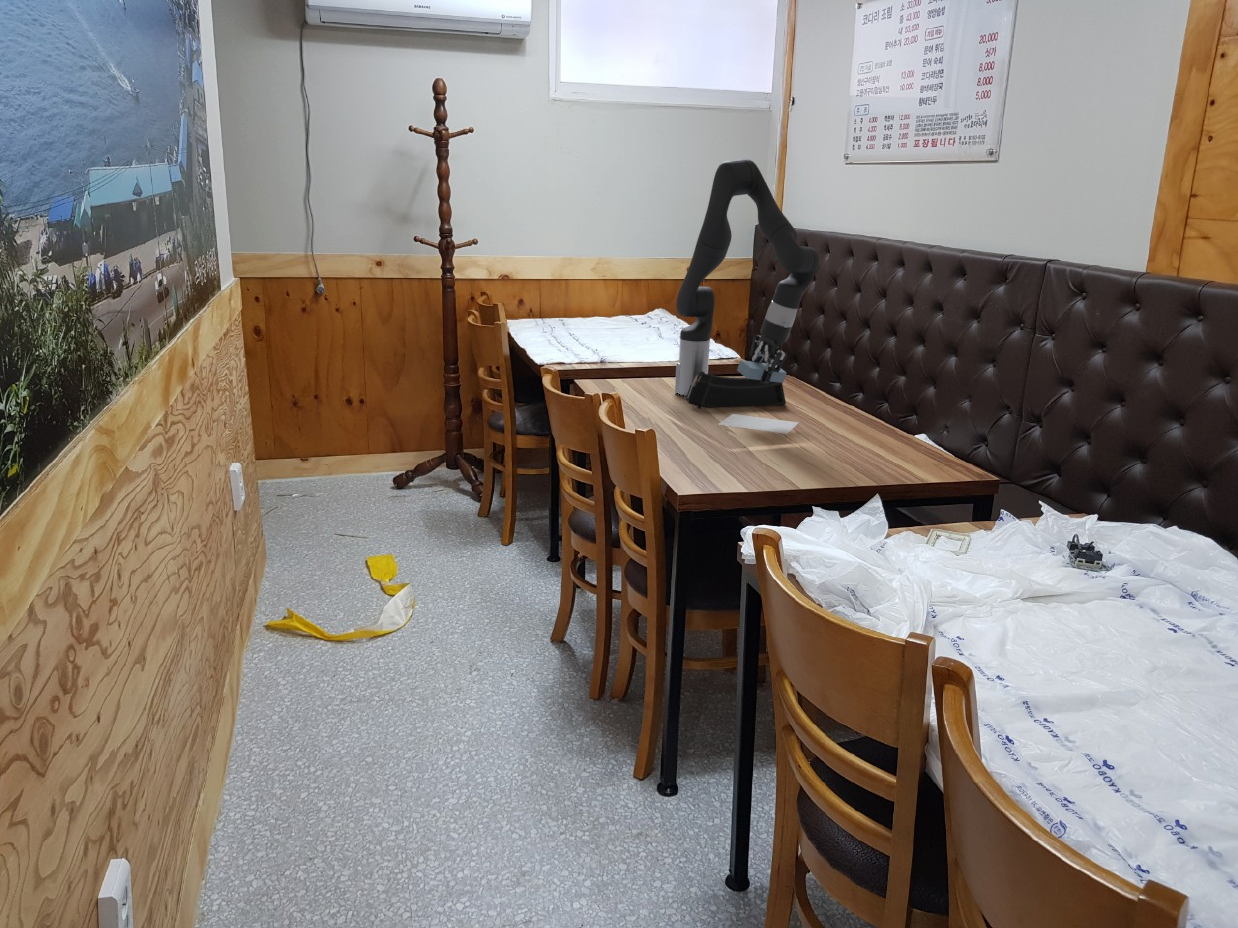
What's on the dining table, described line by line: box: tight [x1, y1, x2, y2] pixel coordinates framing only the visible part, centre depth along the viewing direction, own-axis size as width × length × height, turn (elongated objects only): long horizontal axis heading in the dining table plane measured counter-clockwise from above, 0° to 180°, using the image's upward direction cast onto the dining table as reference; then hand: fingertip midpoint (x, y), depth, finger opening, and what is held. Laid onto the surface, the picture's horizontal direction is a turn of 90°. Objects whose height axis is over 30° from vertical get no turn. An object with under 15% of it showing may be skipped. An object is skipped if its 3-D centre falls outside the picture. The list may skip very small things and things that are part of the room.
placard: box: [736, 359, 787, 384], centre depth 240 cm, size 3×6×12 cm
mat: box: [717, 413, 800, 435], centre depth 241 cm, size 19×14×1 cm
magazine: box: [685, 371, 787, 410], centre depth 260 cm, size 17×3×30 cm
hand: (758, 378), depth 241 cm, fingers closed on placard, 5 cm apart
